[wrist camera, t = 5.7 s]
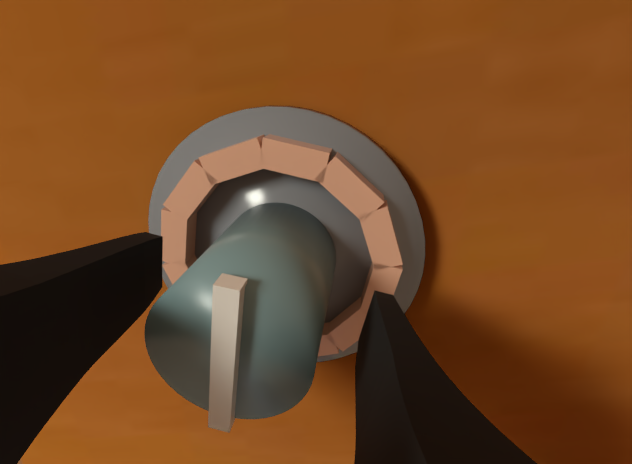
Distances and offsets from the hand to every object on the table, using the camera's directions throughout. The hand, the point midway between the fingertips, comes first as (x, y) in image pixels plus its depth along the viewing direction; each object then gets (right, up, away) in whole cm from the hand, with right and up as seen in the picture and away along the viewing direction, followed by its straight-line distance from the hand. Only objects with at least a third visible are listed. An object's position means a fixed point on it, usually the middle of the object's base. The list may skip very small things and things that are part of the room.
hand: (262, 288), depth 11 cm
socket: (0, +1, +3) cm, 3 cm away
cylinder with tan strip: (0, +1, +2) cm, 2 cm away
